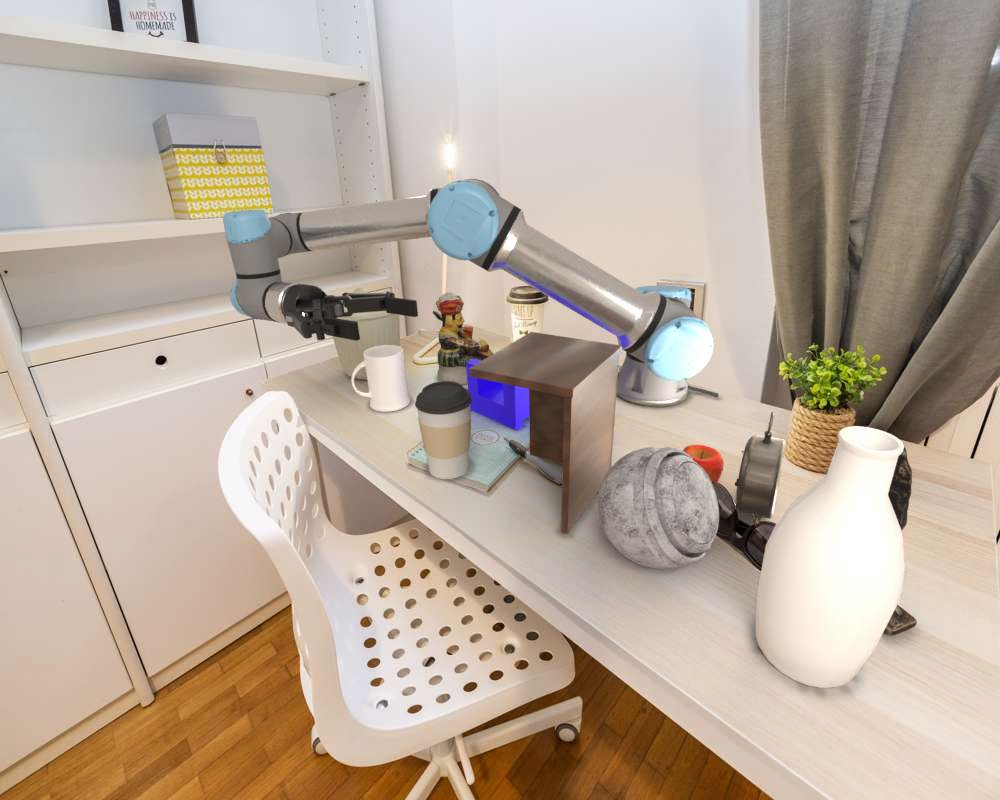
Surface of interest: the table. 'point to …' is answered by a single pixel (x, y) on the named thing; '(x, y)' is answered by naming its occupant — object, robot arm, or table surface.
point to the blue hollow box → (498, 400)
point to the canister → (366, 337)
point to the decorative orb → (659, 508)
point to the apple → (707, 460)
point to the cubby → (564, 407)
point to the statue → (900, 503)
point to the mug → (384, 378)
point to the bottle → (834, 566)
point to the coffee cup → (445, 427)
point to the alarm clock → (760, 474)
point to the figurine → (456, 341)
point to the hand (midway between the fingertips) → (388, 319)
